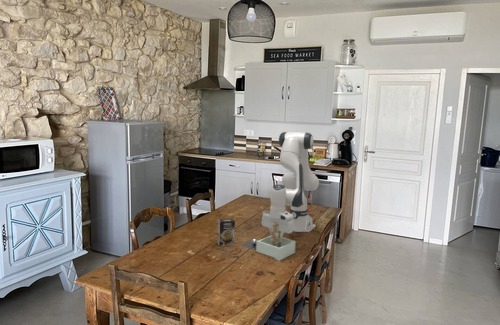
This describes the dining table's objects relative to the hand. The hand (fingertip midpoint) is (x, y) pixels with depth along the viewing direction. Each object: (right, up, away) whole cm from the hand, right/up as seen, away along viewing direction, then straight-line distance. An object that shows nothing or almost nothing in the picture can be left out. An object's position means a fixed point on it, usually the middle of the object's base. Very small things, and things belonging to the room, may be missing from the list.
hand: (276, 236), depth 215 cm
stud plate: (-13, -8, +10) cm, 18 cm away
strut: (-1, -7, +1) cm, 8 cm away
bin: (0, -9, +1) cm, 10 cm away
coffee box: (-30, -7, +9) cm, 32 cm away
